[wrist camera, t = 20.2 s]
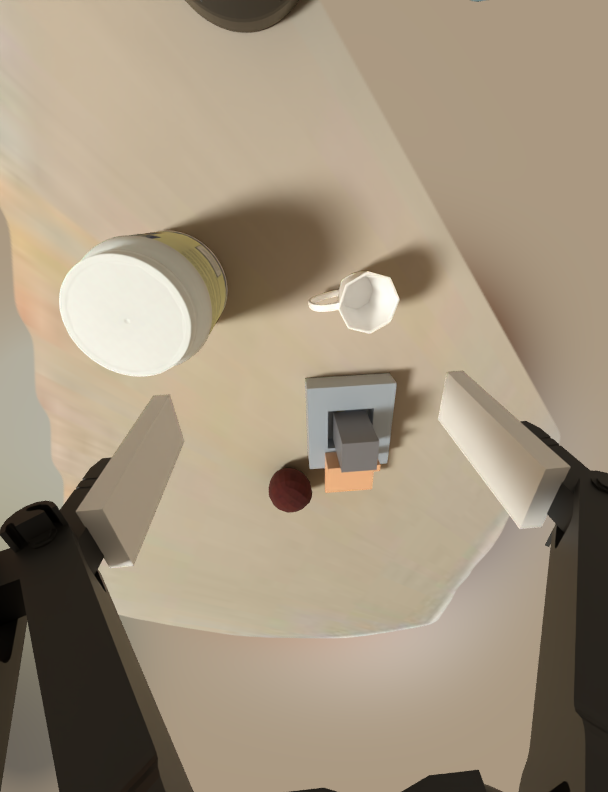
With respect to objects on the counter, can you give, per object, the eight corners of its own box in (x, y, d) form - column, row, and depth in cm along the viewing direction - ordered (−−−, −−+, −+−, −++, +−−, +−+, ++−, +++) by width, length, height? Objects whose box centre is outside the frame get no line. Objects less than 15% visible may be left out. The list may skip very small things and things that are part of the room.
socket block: (305, 378, 49) (307, 388, 46) (389, 373, 50) (396, 383, 47) (307, 455, 56) (309, 469, 53) (381, 450, 57) (387, 463, 54)
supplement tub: (179, 206, 37) (115, 199, 22) (248, 293, 42) (233, 334, 28) (108, 272, 40) (10, 305, 25) (181, 347, 45) (135, 409, 31)
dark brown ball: (288, 452, 56) (290, 482, 50) (318, 475, 59) (323, 506, 53) (259, 476, 58) (257, 507, 52) (289, 497, 61) (291, 528, 55)
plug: (332, 408, 51) (342, 444, 43) (363, 406, 51) (379, 441, 43) (331, 433, 53) (341, 472, 45) (361, 431, 53) (376, 469, 45)
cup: (380, 311, 45) (399, 329, 38) (309, 322, 45) (315, 342, 38) (379, 257, 41) (400, 266, 34) (302, 269, 42) (307, 280, 34)
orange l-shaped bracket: (324, 452, 52) (328, 468, 48) (374, 449, 52) (380, 464, 49) (324, 489, 56) (327, 506, 52) (370, 485, 56) (376, 502, 53)
